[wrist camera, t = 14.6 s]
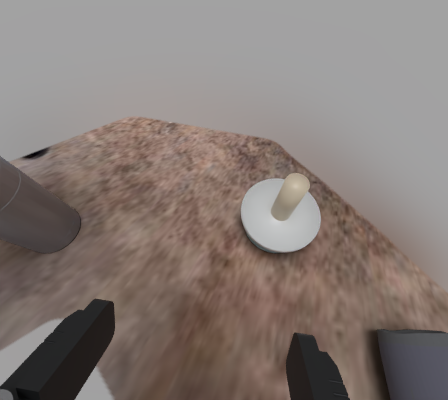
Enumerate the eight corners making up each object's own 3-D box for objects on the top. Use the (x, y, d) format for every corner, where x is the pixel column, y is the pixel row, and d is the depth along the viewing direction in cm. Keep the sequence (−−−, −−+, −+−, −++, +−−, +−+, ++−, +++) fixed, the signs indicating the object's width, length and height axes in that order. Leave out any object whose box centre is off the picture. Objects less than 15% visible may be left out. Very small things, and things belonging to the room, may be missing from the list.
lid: (230, 237, 36) (233, 211, 27) (252, 173, 41) (261, 134, 32) (311, 264, 34) (343, 246, 25) (323, 193, 40) (352, 158, 31)
